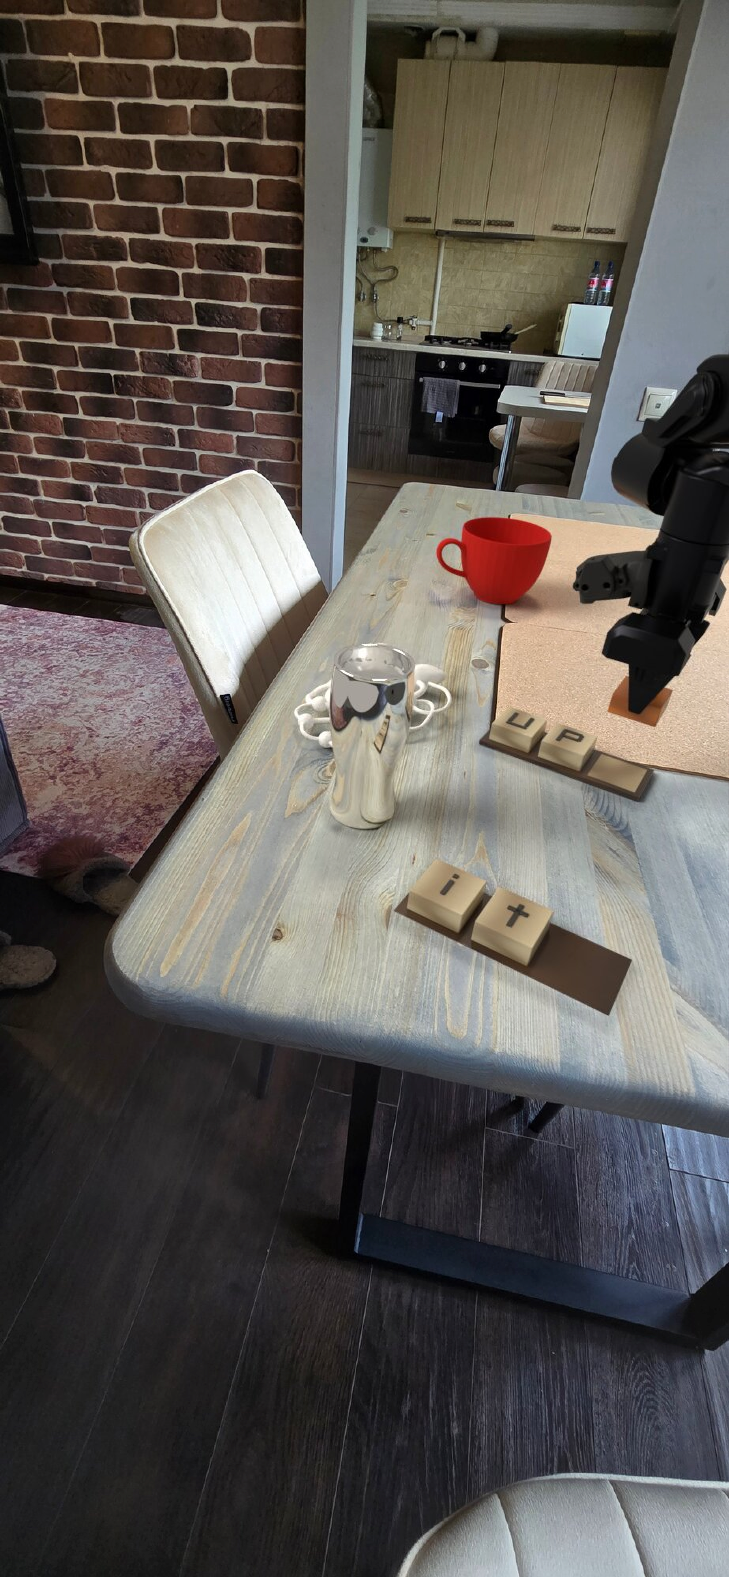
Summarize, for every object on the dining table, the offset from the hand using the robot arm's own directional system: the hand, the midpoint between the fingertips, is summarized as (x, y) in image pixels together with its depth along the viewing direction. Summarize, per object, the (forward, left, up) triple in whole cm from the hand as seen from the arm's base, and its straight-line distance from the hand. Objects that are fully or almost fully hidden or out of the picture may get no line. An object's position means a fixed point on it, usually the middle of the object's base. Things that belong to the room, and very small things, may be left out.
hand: (640, 702), depth 69 cm
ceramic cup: (+31, -37, -9) cm, 49 cm away
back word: (+6, -1, -9) cm, 11 cm away
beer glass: (+18, +19, -9) cm, 28 cm away
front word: (+1, +26, -9) cm, 28 cm away
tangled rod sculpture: (+26, +3, -9) cm, 28 cm away
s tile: (0, 0, -1) cm, 1 cm away
